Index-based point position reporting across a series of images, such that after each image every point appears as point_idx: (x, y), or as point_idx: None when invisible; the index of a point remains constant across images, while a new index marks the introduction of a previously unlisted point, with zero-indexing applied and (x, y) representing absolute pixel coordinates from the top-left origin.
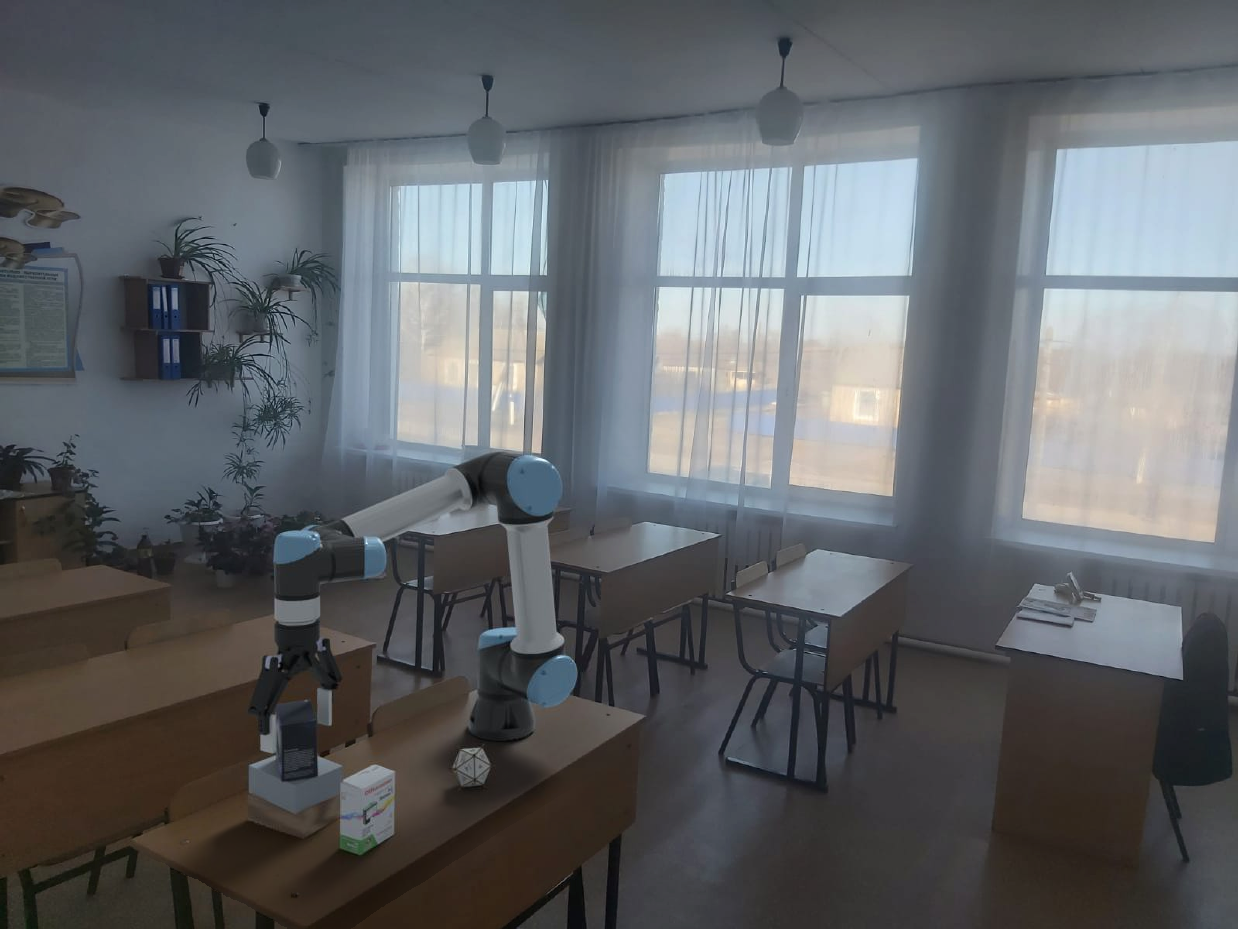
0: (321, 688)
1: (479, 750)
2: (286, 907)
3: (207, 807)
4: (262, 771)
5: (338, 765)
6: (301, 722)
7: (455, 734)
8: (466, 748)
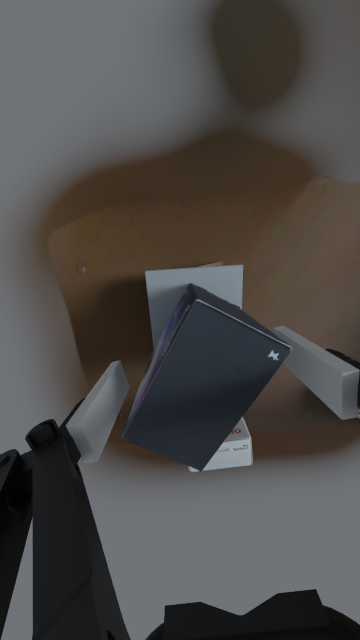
0: (356, 378)
1: None
2: None
3: (133, 204)
4: (149, 308)
5: None
6: (167, 456)
7: None
8: None
